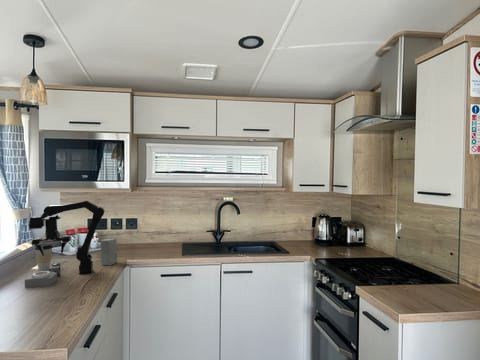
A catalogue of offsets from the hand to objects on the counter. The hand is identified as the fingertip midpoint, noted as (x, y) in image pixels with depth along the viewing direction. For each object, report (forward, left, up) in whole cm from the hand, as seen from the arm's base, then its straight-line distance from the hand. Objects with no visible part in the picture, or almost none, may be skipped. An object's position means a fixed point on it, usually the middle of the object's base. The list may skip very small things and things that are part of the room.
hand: (52, 255), depth 179 cm
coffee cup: (+10, -15, -12) cm, 22 cm away
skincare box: (-26, -20, -12) cm, 35 cm away
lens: (-2, +1, -12) cm, 12 cm away
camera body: (+1, +13, -12) cm, 17 cm away
